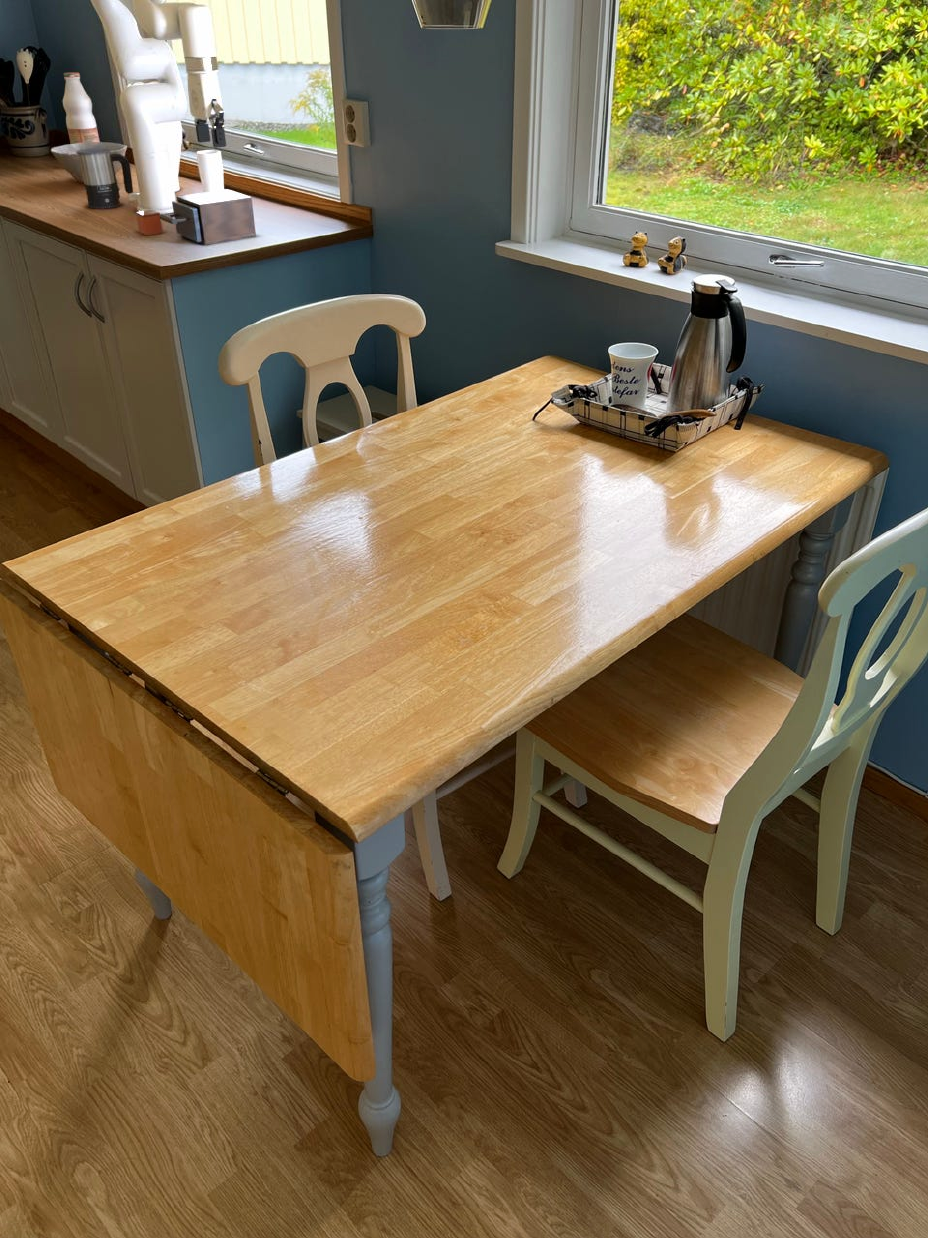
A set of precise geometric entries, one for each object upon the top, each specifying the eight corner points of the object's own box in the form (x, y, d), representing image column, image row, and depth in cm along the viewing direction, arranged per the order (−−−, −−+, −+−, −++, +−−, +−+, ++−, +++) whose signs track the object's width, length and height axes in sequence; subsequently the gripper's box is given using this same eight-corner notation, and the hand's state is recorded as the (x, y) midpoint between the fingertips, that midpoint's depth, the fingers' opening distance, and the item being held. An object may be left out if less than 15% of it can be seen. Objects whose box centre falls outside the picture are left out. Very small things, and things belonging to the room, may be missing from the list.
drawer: (179, 245, 241) (174, 211, 236) (158, 236, 248) (153, 203, 244) (245, 233, 251) (241, 201, 246) (223, 225, 258) (219, 194, 253)
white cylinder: (205, 206, 281) (198, 149, 272) (229, 206, 281) (222, 149, 273) (202, 211, 275) (194, 153, 267) (226, 211, 276) (219, 153, 267)
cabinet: (205, 245, 244) (199, 204, 239) (182, 235, 252) (176, 196, 247) (256, 236, 252) (251, 196, 247) (232, 227, 260) (227, 189, 255)
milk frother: (98, 210, 276) (87, 153, 267) (68, 202, 284) (57, 147, 276) (141, 202, 285) (132, 147, 276) (111, 195, 293) (101, 141, 285)
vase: (173, 196, 292) (156, 87, 276) (132, 192, 296) (112, 85, 280) (200, 187, 303) (185, 81, 287) (160, 183, 308) (143, 79, 291)
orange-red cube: (146, 235, 252) (142, 214, 250) (138, 231, 255) (135, 211, 253) (163, 232, 255) (159, 212, 252) (155, 229, 258) (151, 209, 255)
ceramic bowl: (147, 179, 313) (141, 145, 308) (90, 191, 297) (83, 156, 292) (101, 172, 323) (94, 139, 317) (43, 183, 307) (35, 148, 301)
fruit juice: (71, 168, 328) (52, 74, 312) (80, 163, 336) (61, 71, 320) (99, 168, 329) (81, 74, 313) (107, 163, 336) (90, 71, 320)
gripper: (172, 63, 236) (184, 141, 245) (200, 68, 224) (211, 150, 234) (202, 61, 239) (212, 138, 249) (231, 67, 228) (240, 147, 237)
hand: (211, 144), depth 241 cm, fingers open, 9 cm apart
